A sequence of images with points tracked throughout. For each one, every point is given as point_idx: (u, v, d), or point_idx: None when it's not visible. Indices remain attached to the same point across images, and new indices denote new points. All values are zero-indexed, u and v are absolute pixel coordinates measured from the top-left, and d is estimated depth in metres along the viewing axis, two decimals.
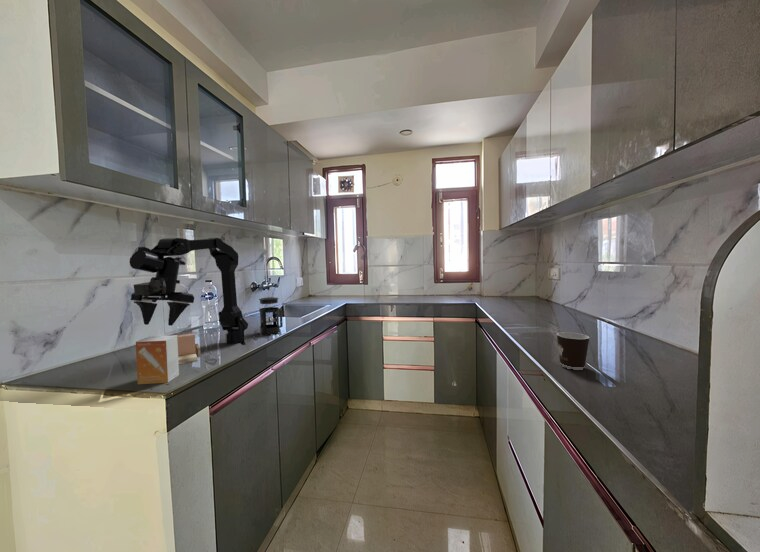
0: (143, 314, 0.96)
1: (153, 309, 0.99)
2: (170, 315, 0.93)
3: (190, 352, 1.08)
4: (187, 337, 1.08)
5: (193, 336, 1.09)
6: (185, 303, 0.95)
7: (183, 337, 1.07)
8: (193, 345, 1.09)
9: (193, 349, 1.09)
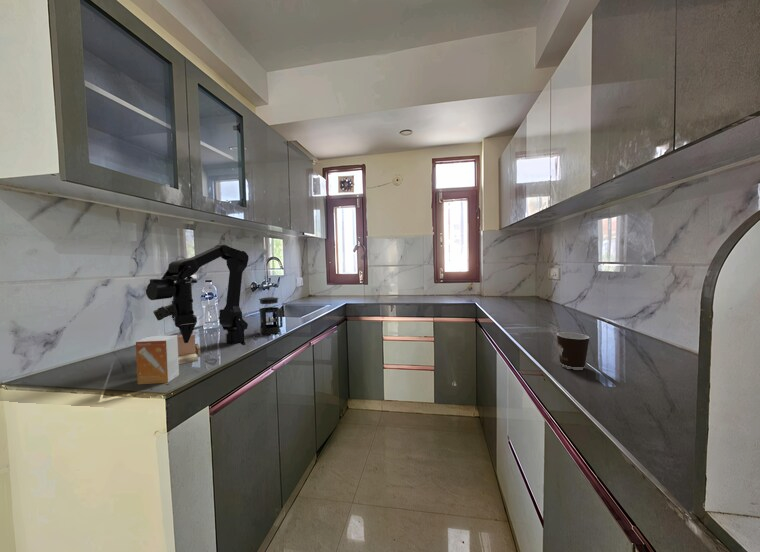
0: None
1: None
2: (182, 335, 1.04)
3: (190, 352, 1.08)
4: None
5: (193, 336, 1.09)
6: (189, 324, 1.02)
7: None
8: (193, 345, 1.09)
9: (193, 349, 1.09)
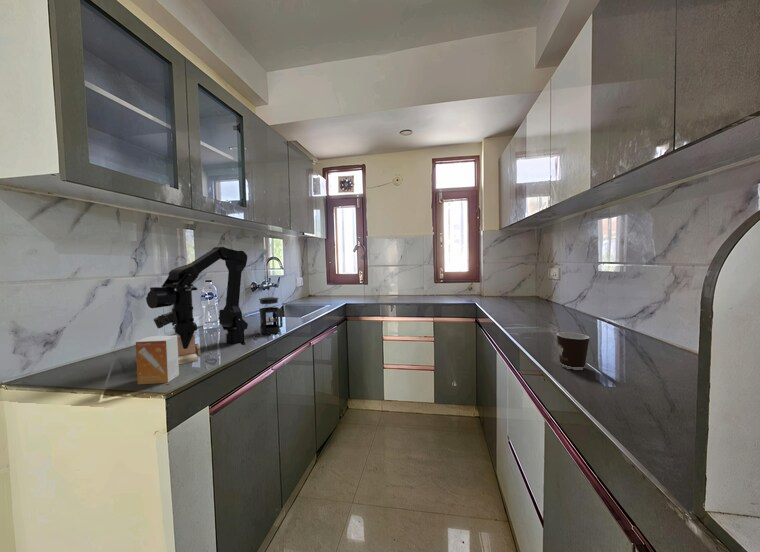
0: None
1: None
2: None
3: (190, 352, 1.08)
4: None
5: (193, 336, 1.09)
6: None
7: None
8: (193, 345, 1.09)
9: (193, 349, 1.09)
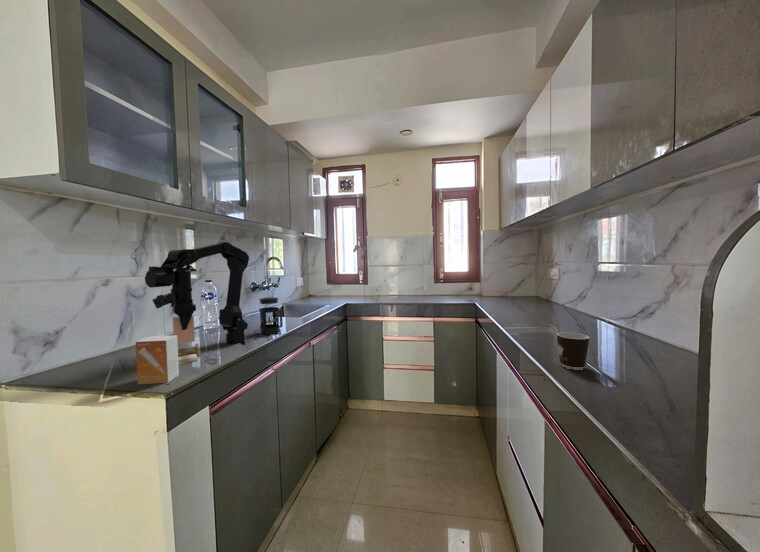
0: None
1: None
2: (180, 322, 1.06)
3: (189, 334, 1.08)
4: None
5: (192, 317, 1.08)
6: None
7: None
8: (192, 326, 1.08)
9: (192, 330, 1.08)
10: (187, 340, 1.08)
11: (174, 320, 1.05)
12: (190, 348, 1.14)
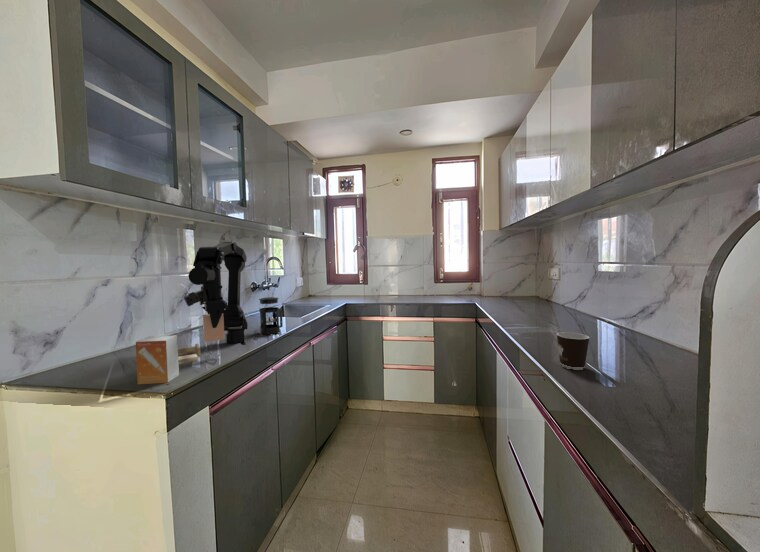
0: None
1: None
2: None
3: (219, 332, 1.07)
4: None
5: (222, 315, 1.07)
6: (218, 308, 1.03)
7: None
8: (222, 324, 1.08)
9: (222, 328, 1.08)
10: (217, 338, 1.07)
11: (205, 318, 1.04)
12: (190, 348, 1.14)
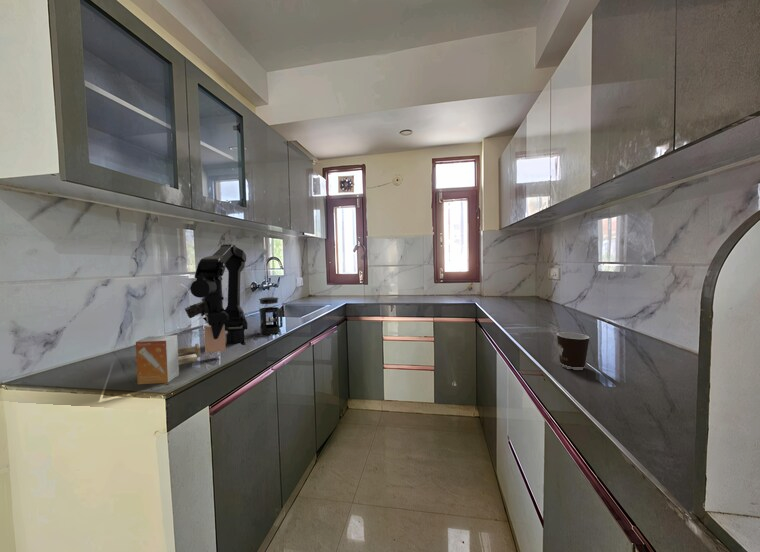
0: None
1: None
2: (212, 331, 1.05)
3: (220, 343, 1.07)
4: None
5: (223, 326, 1.08)
6: None
7: None
8: (223, 335, 1.08)
9: (223, 339, 1.08)
10: (218, 349, 1.07)
11: (206, 329, 1.05)
12: (190, 348, 1.14)
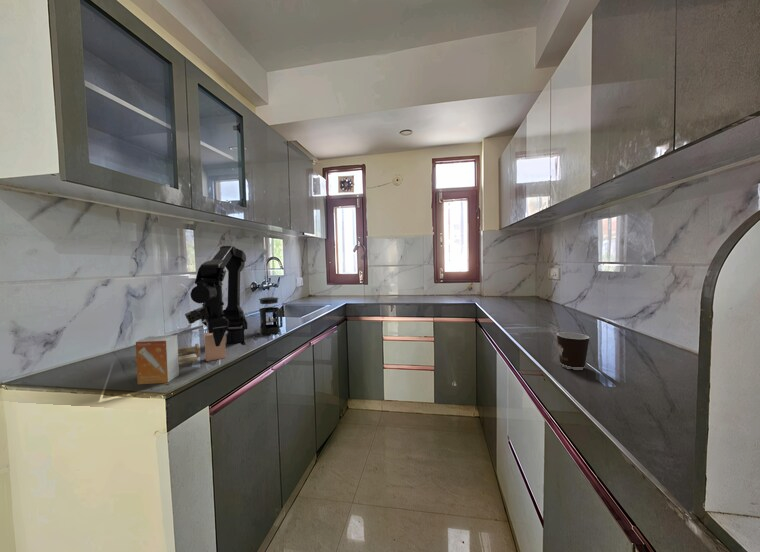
0: (209, 332, 1.11)
1: None
2: None
3: (221, 351, 1.07)
4: None
5: None
6: (221, 327, 1.01)
7: None
8: (223, 343, 1.08)
9: (223, 347, 1.08)
10: (219, 357, 1.07)
11: (206, 337, 1.05)
12: (190, 348, 1.14)
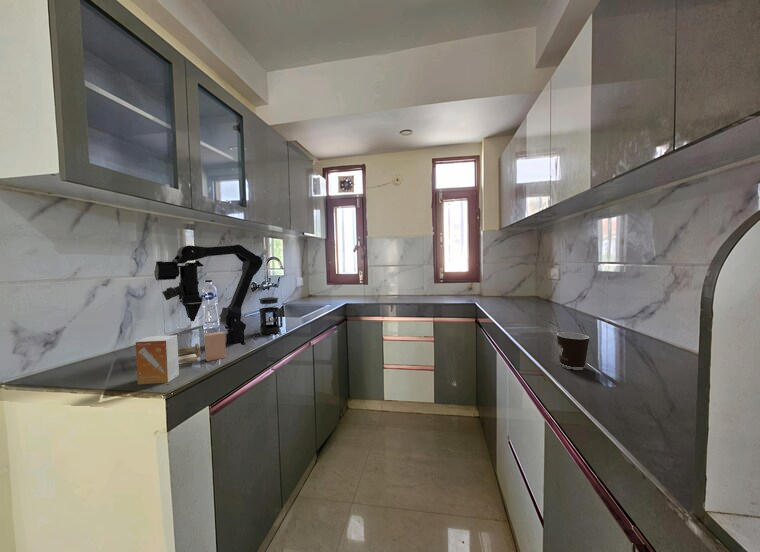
0: (186, 310, 1.20)
1: None
2: (188, 313, 1.12)
3: (221, 351, 1.07)
4: (217, 335, 1.07)
5: (223, 334, 1.08)
6: (195, 303, 1.11)
7: (214, 335, 1.06)
8: (223, 343, 1.08)
9: (223, 347, 1.08)
10: (219, 357, 1.07)
11: (206, 337, 1.05)
12: (190, 348, 1.14)
